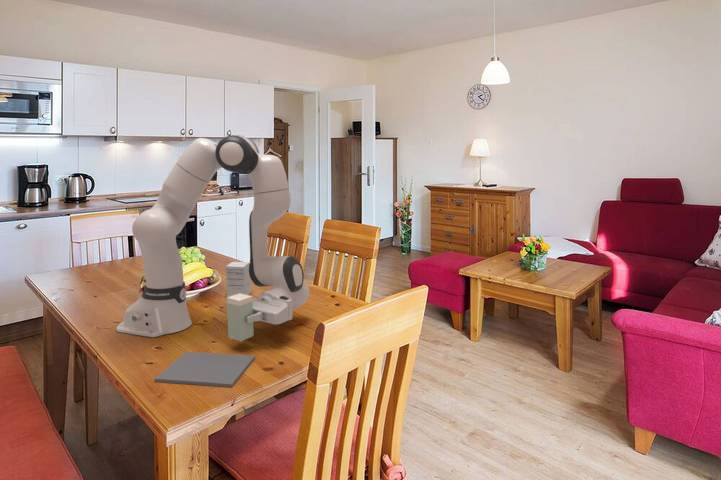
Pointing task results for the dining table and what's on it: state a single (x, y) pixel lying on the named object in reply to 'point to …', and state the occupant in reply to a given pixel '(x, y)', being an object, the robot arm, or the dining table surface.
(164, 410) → the dining table surface
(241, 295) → the sage block
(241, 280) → the supplement box
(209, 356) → the rubber mat
